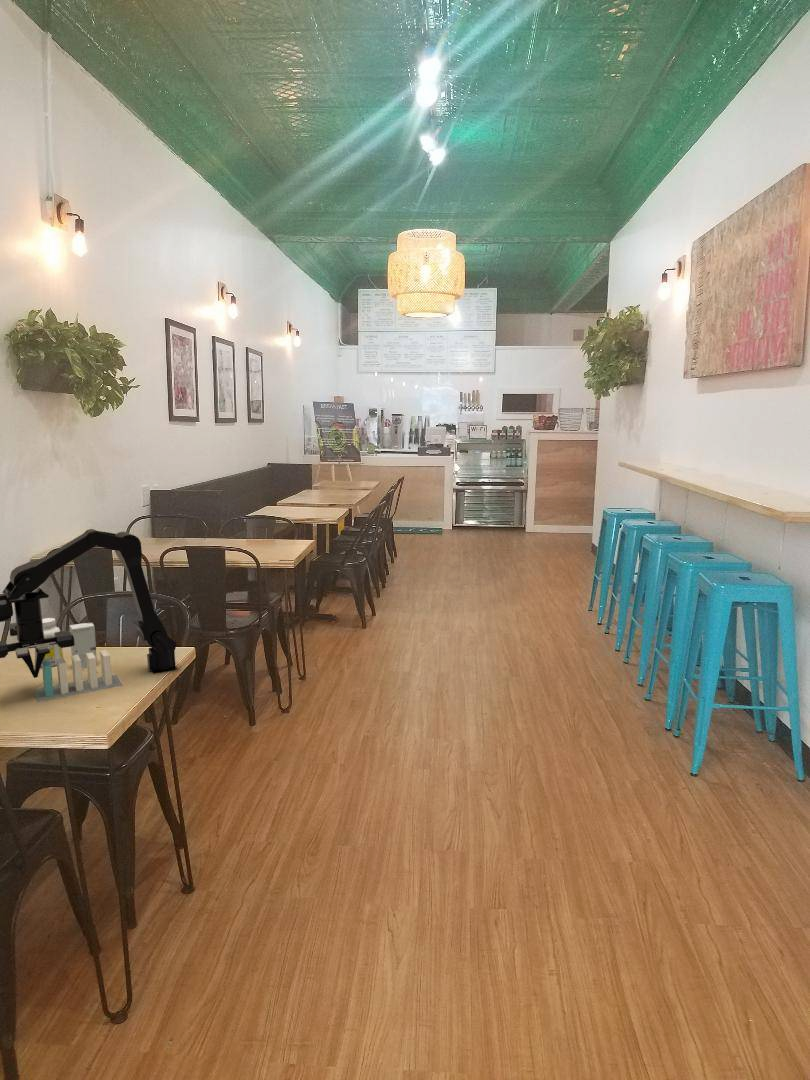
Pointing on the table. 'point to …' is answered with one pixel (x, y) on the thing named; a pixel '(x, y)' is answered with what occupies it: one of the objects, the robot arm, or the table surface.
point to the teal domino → (47, 678)
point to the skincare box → (83, 641)
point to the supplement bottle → (49, 632)
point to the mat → (72, 691)
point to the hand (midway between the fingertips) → (35, 677)
